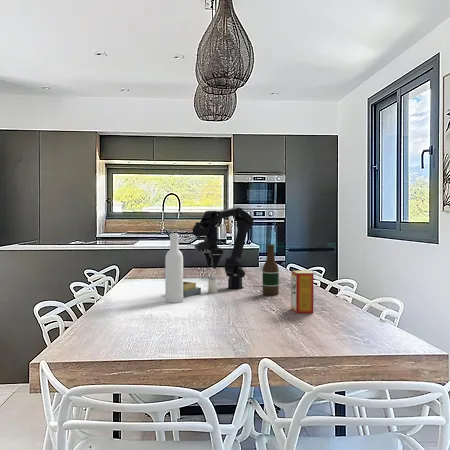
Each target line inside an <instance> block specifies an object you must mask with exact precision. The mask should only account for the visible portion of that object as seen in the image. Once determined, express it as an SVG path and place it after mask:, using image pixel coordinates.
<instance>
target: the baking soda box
mask: <svg viewBox="0 0 450 450" xmlns="http://www.w3.org/2000/svg"><path fill="white" fill-rule="evenodd" d="M290 278H291V285H290V286H291V288H290V289H291V292H290V293H291V294H290V295H291V302H290V303H291V306H290V307H291V310H292V311H293V312H294V313H295V314H314V273H313V272H312V271H310V270H308V269H307V270H291V277H290Z"/></svg>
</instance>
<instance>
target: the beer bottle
mask: <svg viewBox="0 0 450 450" xmlns="http://www.w3.org/2000/svg"><path fill="white" fill-rule="evenodd" d="M266 245H267V246H266V249H267V252H266V260H265V263H264V264H263V266H262V295H264V296H274V297H275V296H278V295H279V291H280V289H279V288H280V285H279V284H280V281H279V280H280V279H279V277H280V276H279V275H280V270H279V266H278V263H277V262H276V259H275V257H276V256H275V244H266Z"/></svg>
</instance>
